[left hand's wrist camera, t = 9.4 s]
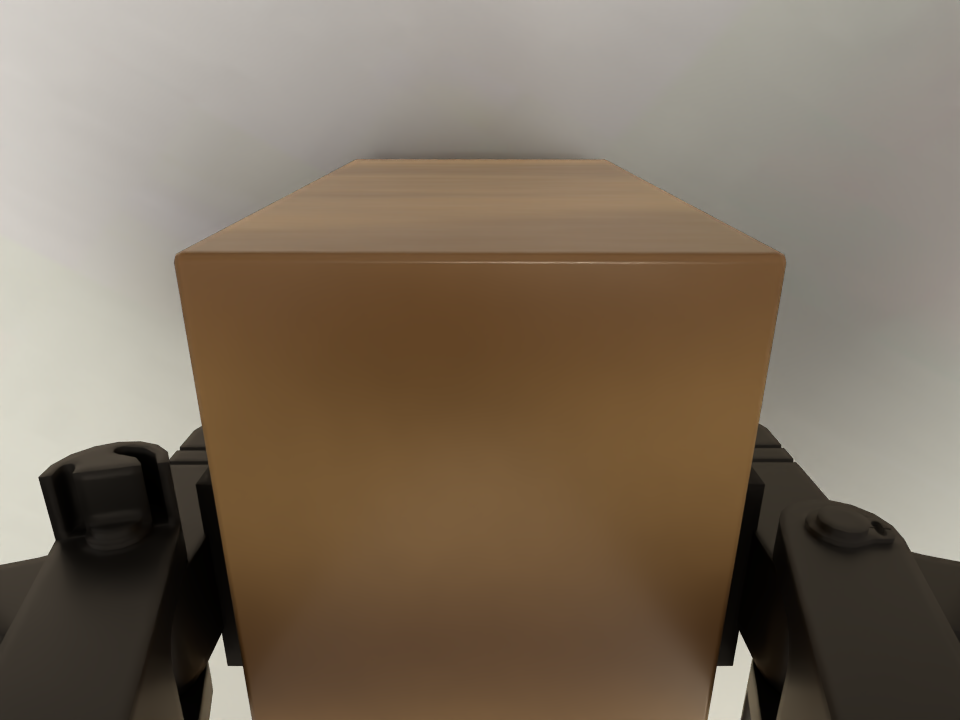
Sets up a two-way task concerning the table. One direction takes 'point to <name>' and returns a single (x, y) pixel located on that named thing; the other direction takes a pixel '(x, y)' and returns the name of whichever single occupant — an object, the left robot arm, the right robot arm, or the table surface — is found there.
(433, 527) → the post
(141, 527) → the left robot arm
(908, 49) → the table surface
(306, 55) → the table surface
